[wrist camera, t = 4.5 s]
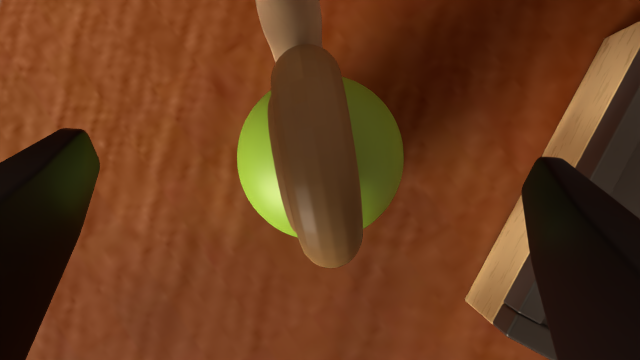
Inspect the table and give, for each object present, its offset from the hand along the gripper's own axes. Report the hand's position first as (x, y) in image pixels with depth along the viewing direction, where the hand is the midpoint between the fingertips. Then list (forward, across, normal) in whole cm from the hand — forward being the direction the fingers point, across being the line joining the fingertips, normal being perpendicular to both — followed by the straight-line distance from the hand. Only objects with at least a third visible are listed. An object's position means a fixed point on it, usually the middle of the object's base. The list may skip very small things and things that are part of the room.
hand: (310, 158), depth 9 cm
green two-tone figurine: (+7, 0, +6) cm, 9 cm away
